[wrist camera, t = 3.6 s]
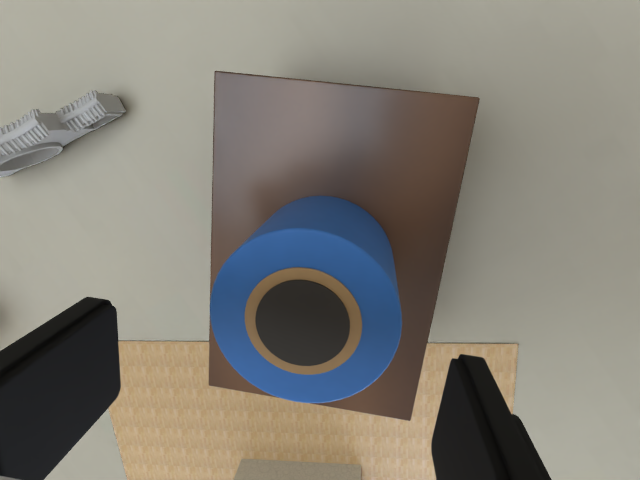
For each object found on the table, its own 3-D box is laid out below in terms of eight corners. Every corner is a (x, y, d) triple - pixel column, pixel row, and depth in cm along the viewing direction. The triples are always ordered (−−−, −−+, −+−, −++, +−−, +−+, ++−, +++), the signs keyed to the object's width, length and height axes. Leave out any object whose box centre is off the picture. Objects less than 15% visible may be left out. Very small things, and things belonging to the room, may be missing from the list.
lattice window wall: (120, 90, 27) (55, 83, 22) (133, 115, 28) (72, 114, 22) (-3, 160, 30) (-89, 169, 25) (10, 182, 31) (-71, 196, 25)
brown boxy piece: (439, 105, 25) (480, 97, 16) (398, 326, 30) (410, 421, 21) (271, 88, 26) (214, 70, 17) (258, 304, 31) (208, 385, 22)
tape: (404, 205, 17) (419, 245, 12) (382, 336, 19) (385, 421, 14) (258, 186, 18) (208, 216, 12) (251, 315, 20) (205, 390, 14)
